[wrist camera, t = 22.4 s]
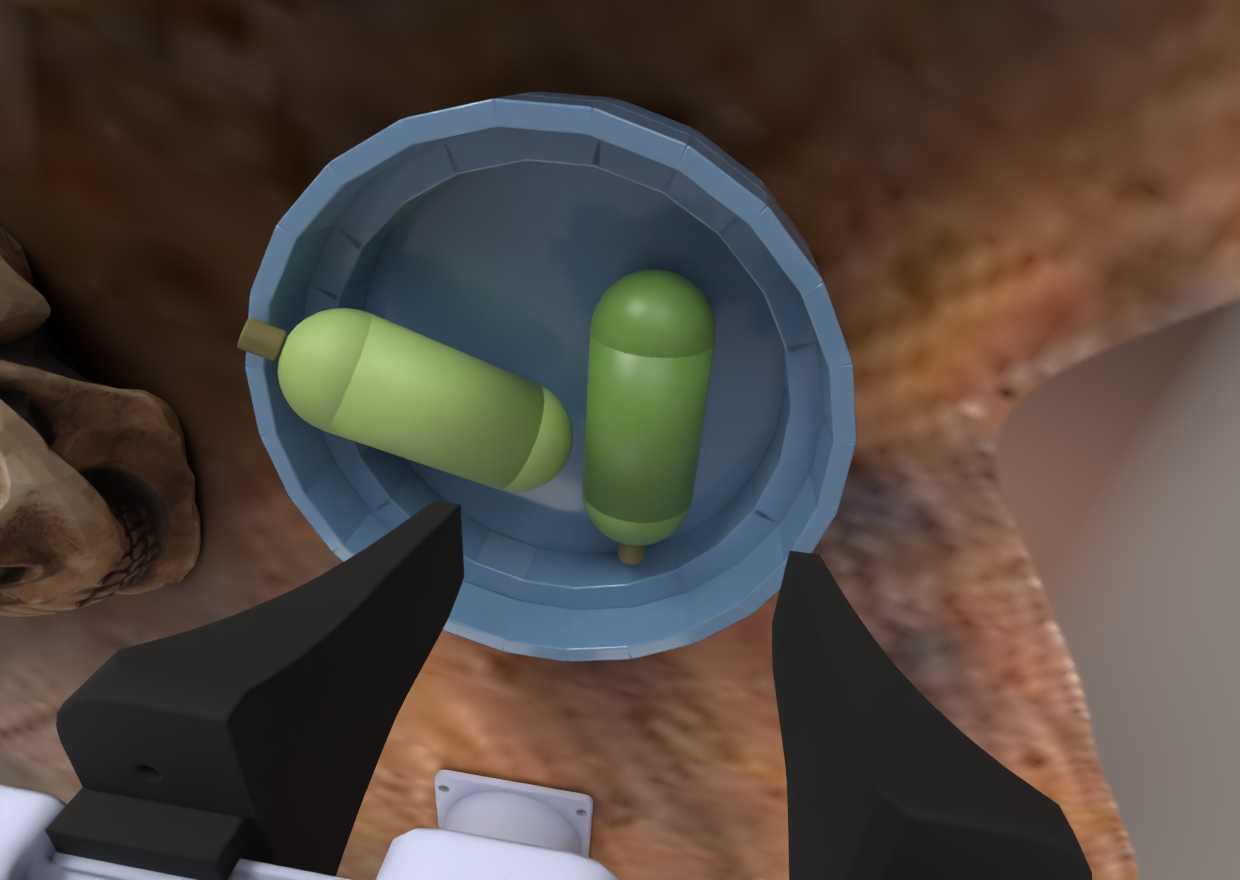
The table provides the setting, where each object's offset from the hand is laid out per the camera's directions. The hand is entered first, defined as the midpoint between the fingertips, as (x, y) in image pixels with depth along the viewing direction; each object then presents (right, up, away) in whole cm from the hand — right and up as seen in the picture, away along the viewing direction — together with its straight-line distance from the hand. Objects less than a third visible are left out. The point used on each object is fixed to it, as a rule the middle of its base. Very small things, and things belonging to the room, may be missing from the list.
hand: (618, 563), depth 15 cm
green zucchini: (+1, +4, +8) cm, 9 cm away
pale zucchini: (-6, +5, +7) cm, 10 cm away
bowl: (-2, +5, +8) cm, 10 cm away
